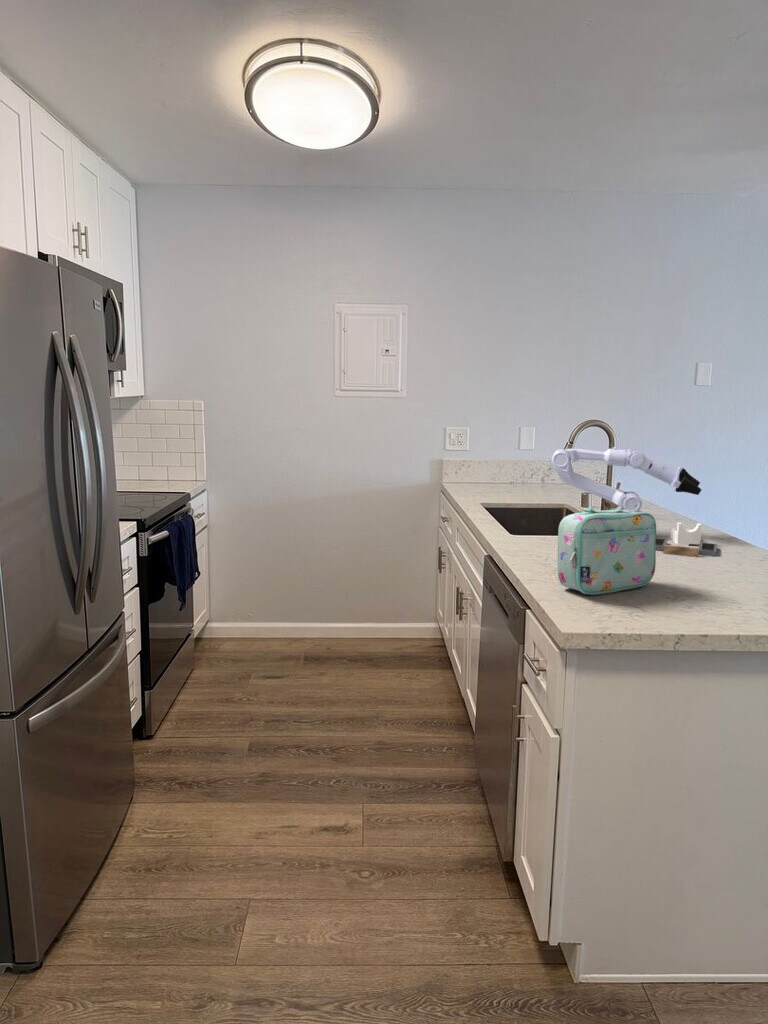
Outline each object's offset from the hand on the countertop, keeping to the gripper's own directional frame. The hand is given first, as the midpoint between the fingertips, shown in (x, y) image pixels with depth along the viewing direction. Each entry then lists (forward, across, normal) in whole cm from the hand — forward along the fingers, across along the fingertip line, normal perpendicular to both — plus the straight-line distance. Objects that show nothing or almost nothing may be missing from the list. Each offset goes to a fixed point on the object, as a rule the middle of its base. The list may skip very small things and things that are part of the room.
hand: (699, 488), depth 227 cm
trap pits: (+2, -18, +16) cm, 24 cm away
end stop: (+1, -26, +15) cm, 30 cm away
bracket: (+5, -5, +18) cm, 19 cm away
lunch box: (-22, -73, +16) cm, 78 cm away
